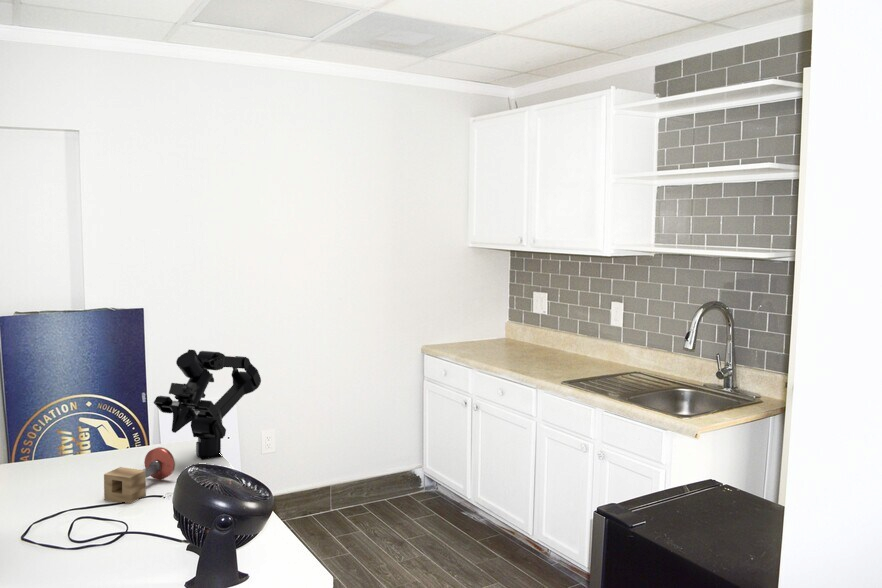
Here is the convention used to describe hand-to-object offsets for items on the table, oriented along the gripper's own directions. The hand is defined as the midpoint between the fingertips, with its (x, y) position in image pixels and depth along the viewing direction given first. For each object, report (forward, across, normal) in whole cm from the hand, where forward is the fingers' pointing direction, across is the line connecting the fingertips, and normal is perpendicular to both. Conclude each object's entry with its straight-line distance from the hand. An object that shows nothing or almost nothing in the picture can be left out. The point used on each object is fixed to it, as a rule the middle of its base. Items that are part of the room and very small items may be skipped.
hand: (173, 431), depth 203 cm
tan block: (+23, 0, -6) cm, 24 cm away
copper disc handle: (+16, 0, +1) cm, 16 cm away
